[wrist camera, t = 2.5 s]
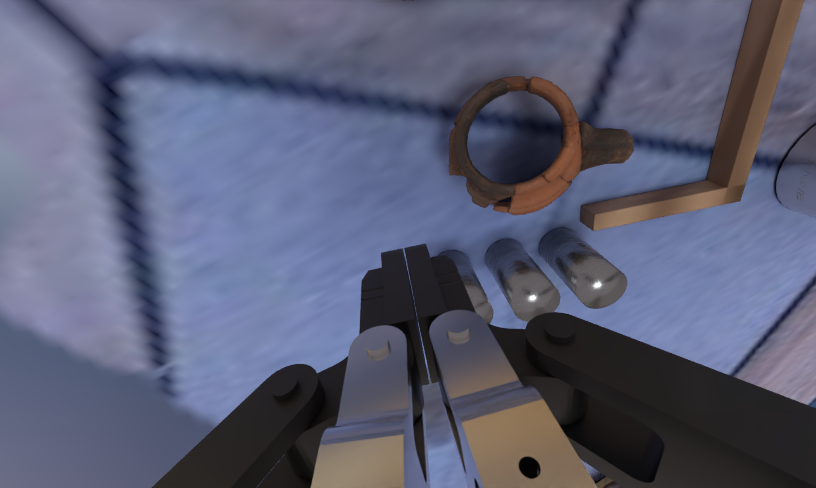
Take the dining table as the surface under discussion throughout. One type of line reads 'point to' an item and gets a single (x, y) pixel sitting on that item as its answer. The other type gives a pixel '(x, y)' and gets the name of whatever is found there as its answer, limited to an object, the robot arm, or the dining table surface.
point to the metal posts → (542, 275)
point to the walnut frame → (722, 126)
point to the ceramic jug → (608, 483)
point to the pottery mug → (575, 155)
